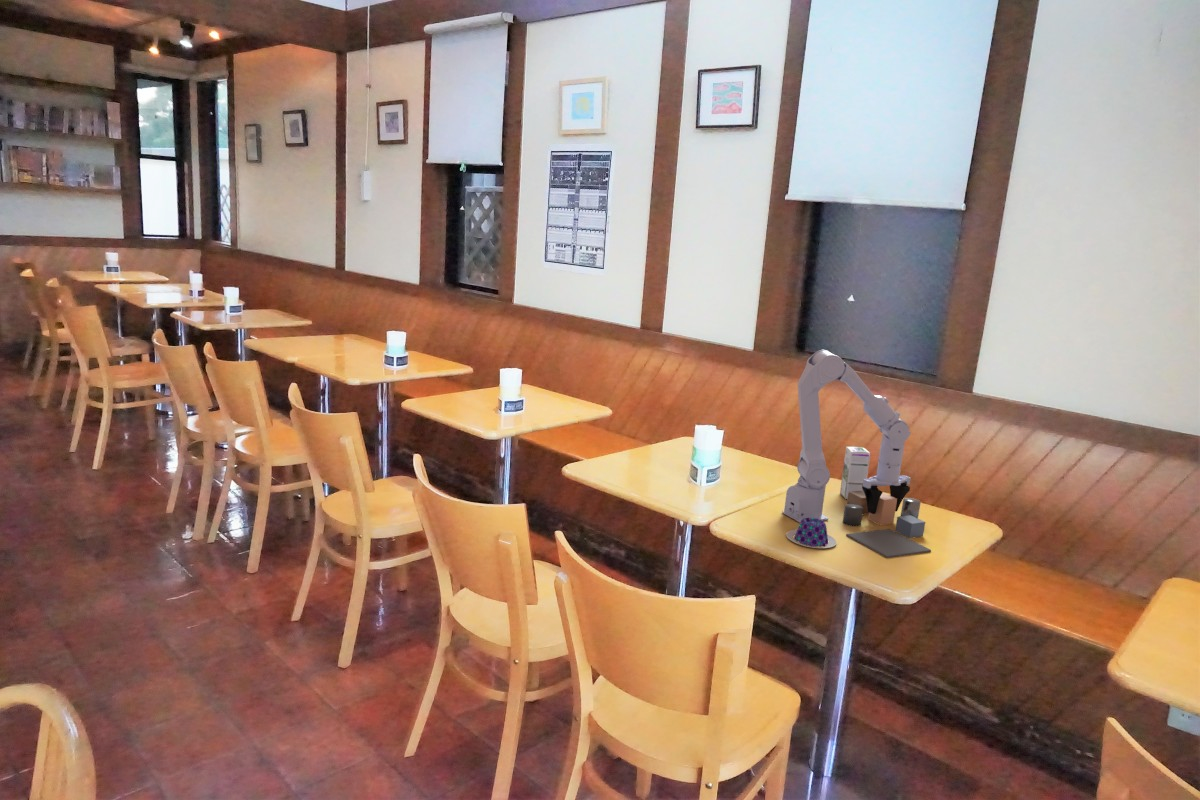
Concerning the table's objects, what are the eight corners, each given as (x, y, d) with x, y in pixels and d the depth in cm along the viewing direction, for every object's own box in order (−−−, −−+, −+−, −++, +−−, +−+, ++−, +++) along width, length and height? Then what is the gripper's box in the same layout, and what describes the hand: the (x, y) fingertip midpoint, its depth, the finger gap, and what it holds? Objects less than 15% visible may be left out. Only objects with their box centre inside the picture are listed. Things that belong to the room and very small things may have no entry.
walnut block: (858, 515, 216) (861, 497, 215) (846, 508, 220) (848, 491, 219) (873, 513, 218) (875, 496, 217) (860, 507, 222) (862, 490, 221)
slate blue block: (909, 538, 201) (912, 523, 200) (895, 531, 206) (897, 516, 205) (922, 536, 203) (925, 522, 202) (908, 529, 207) (910, 515, 207)
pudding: (780, 531, 200) (782, 511, 199) (826, 533, 201) (829, 513, 200) (794, 550, 189) (796, 529, 188) (843, 552, 190) (846, 531, 188)
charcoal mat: (886, 558, 187) (887, 556, 187) (846, 535, 199) (846, 533, 199) (930, 551, 193) (931, 549, 193) (888, 530, 205) (888, 528, 205)
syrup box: (864, 501, 227) (872, 452, 224) (844, 499, 227) (851, 451, 224) (858, 494, 233) (865, 447, 230) (838, 493, 233) (845, 445, 230)
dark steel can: (908, 523, 212) (912, 503, 211) (896, 517, 216) (899, 498, 215) (921, 522, 214) (924, 502, 212) (908, 516, 218) (911, 497, 216)
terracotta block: (880, 525, 209) (884, 500, 207) (868, 519, 213) (871, 494, 211) (893, 523, 211) (897, 498, 209) (881, 517, 215) (884, 493, 213)
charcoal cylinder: (850, 527, 206) (853, 510, 205) (838, 520, 210) (841, 504, 209) (864, 525, 208) (867, 509, 207) (852, 519, 212) (854, 503, 211)
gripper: (879, 468, 202) (872, 519, 205) (922, 465, 208) (914, 514, 211) (860, 460, 208) (853, 509, 211) (902, 457, 214) (894, 505, 217)
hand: (882, 511), depth 211 cm, fingers open, 7 cm apart
